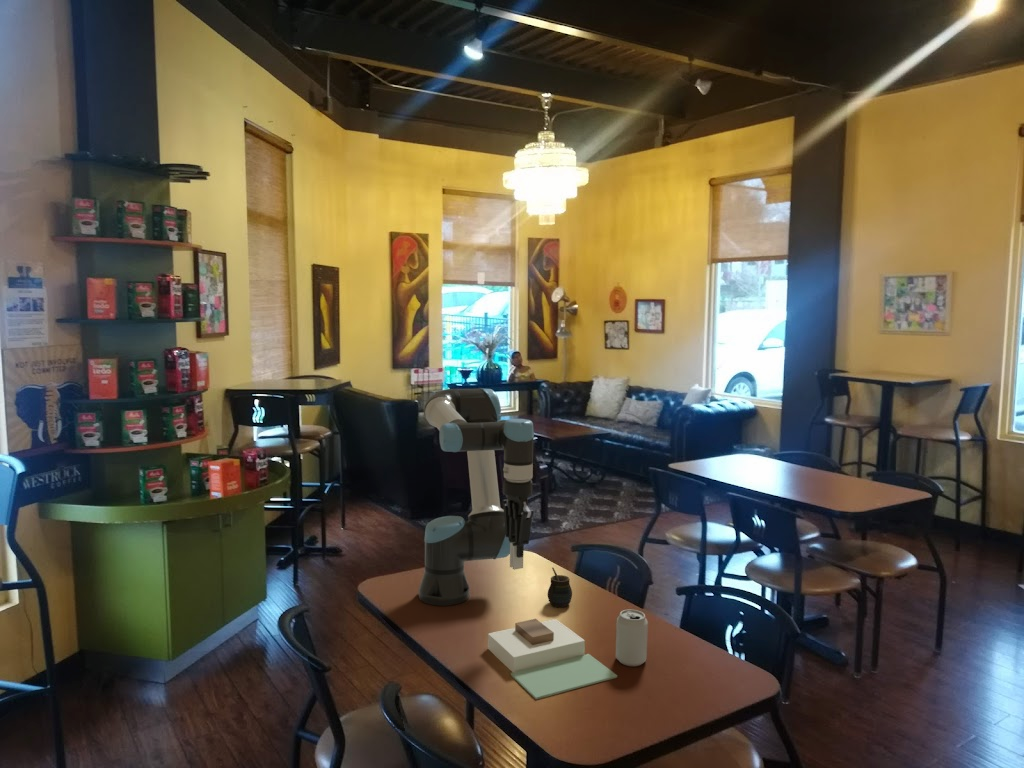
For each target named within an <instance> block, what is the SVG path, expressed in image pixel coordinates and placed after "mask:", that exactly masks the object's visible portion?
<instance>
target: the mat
mask: <svg viewBox="0 0 1024 768" xmlns="http://www.w3.org/2000/svg"><path fill="white" fill-rule="evenodd" d="M510 676H511V678H512V679H514V680H515V681H516V682H517V683H518V684H519V685H520V686H522V687H523V688H524V690H525V691H527V692H528V694H530V696H532V697H533V698H534V699H535V701H536V700H540V699H544V698H547V697H548V698H549V697H551V696H554V695H558V694H562V693H566V692H569V691H572V690H576V689H579V688H583V687H587V686H592V685H594V684H595V685H596V684H597V683H598V684H599V683H602V682H605V681H610V680H613V679H616V678H618V675H617V674H616V673H615V672H613V671H612V670H611V669H610V668H608V667H607V666H605V665H604V664H603V663H602V662H600V661H599V660H597V659H596V657H594V656H592V655H591V654H590V653H587V654H585V655H581V656H577V657H573V658H569V659H565V660H561V661H557V662H553V663H549V664H545V665H541V666H537V667H533V668H529V669H525V670H521V671H517V672H510Z"/></svg>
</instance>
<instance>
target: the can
mask: <svg viewBox="0 0 1024 768" xmlns="http://www.w3.org/2000/svg"><path fill="white" fill-rule="evenodd" d="M648 626H649V621H648V619H647V618H646V614H645V613H644V612H643V611H640V610H637V609H629V608H628V609H624V610H621V611H620V612H619V616H618V617H617V618H616V630H615V632H616V634H615V635H616V636H615V637H616V638H615V658H616V659H617V661H618V662H620V664H623V665H624V666H628V667H638V666H641V665H642V664H644V663H645V662H646V661H647V652H648V651H647V650H648V628H649V627H648Z"/></svg>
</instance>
